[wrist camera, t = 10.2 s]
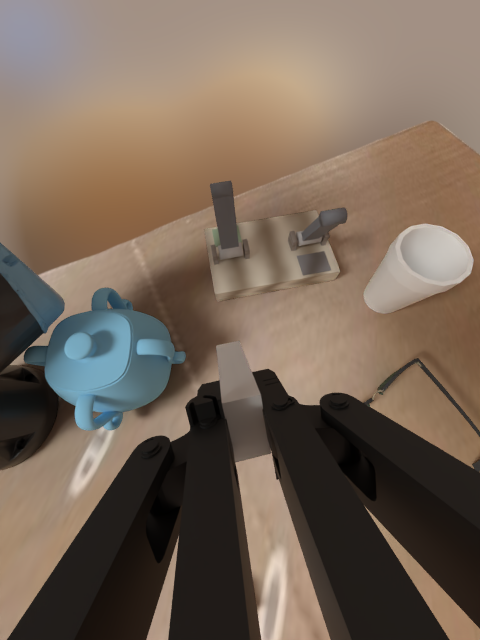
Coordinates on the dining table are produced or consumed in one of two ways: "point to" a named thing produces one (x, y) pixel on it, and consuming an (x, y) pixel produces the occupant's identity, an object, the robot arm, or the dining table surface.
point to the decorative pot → (107, 360)
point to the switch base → (270, 258)
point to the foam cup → (418, 268)
